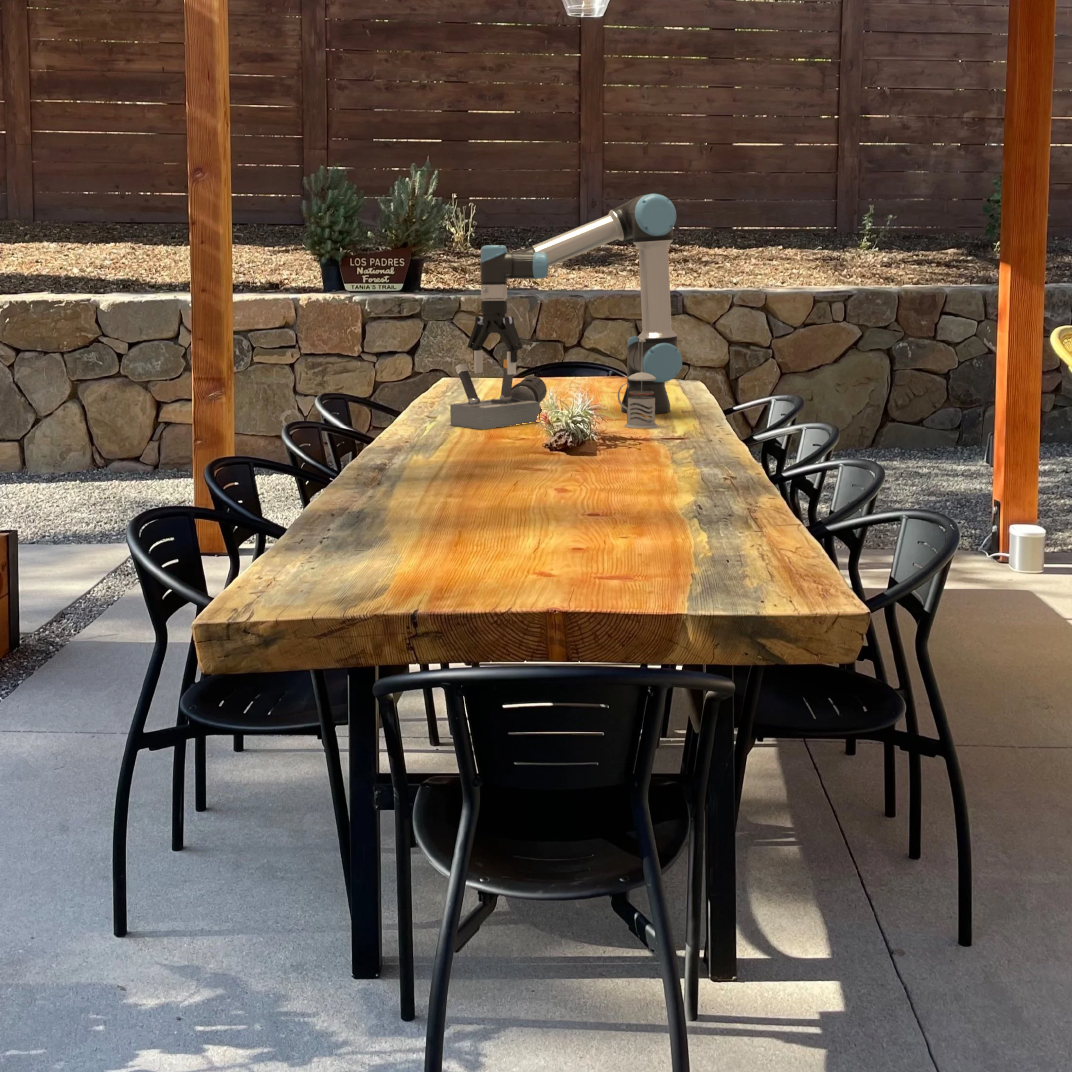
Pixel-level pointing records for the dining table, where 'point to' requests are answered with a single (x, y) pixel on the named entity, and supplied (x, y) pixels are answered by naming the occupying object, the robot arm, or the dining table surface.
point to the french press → (640, 402)
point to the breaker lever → (506, 384)
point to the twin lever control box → (489, 408)
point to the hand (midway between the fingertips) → (494, 374)
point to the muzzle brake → (529, 389)
